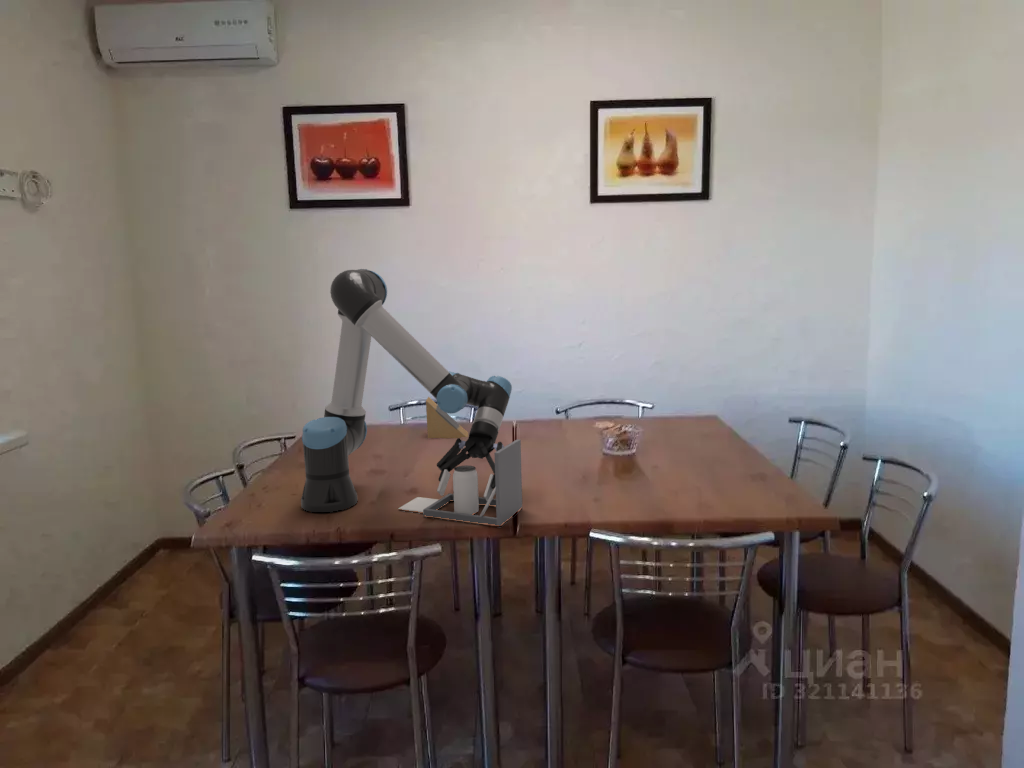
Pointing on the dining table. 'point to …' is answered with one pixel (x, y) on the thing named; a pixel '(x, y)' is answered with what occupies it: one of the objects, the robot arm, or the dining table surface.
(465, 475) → the can
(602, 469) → the dining table surface
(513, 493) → the grey frame and panel
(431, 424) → the sandwich container
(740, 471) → the dining table surface
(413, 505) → the pad
